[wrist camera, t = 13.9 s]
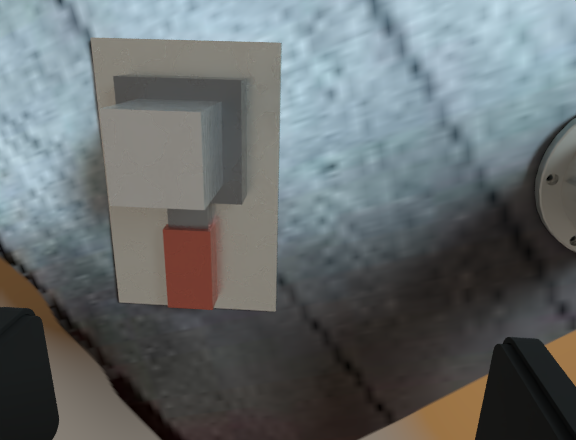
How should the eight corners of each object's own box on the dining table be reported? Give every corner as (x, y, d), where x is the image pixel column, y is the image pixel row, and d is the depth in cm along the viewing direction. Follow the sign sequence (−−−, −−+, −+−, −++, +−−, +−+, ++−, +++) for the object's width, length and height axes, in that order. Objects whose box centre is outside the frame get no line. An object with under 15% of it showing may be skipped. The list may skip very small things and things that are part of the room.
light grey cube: (221, 101, 33) (200, 112, 27) (223, 184, 35) (204, 210, 29) (137, 98, 33) (99, 108, 27) (143, 181, 35) (109, 206, 29)
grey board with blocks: (281, 42, 34) (272, 40, 27) (276, 308, 41) (267, 356, 35) (93, 37, 35) (40, 34, 28) (121, 299, 42) (84, 345, 36)
